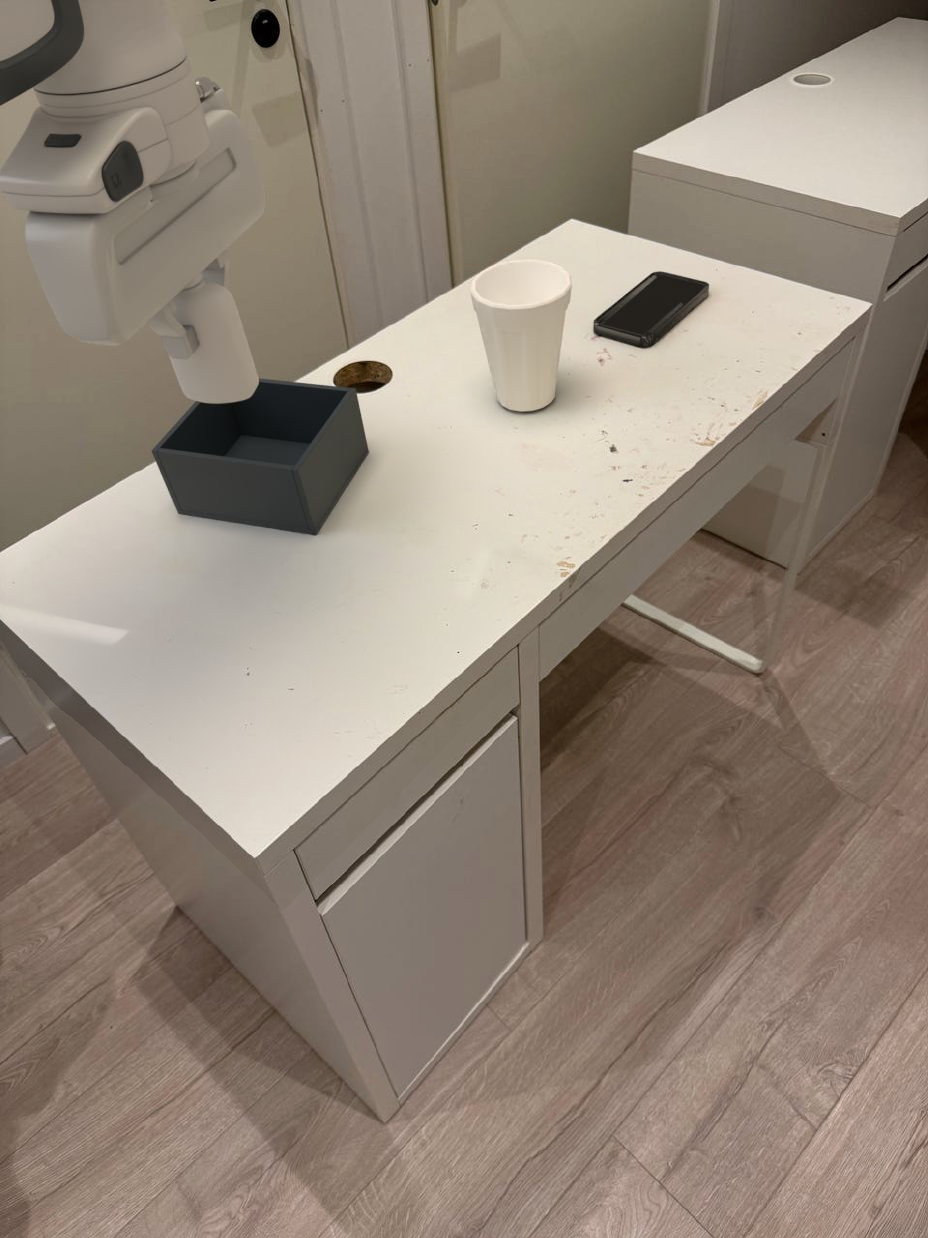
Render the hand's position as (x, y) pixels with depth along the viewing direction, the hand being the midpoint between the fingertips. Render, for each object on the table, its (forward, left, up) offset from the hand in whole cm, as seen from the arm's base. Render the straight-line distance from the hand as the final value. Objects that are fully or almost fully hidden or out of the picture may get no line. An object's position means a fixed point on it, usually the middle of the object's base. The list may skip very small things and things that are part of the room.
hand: (202, 335), depth 63 cm
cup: (+14, +31, -24) cm, 42 cm away
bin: (-7, +12, -24) cm, 27 cm away
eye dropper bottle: (0, 0, -5) cm, 5 cm away
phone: (+24, +51, -24) cm, 61 cm away
